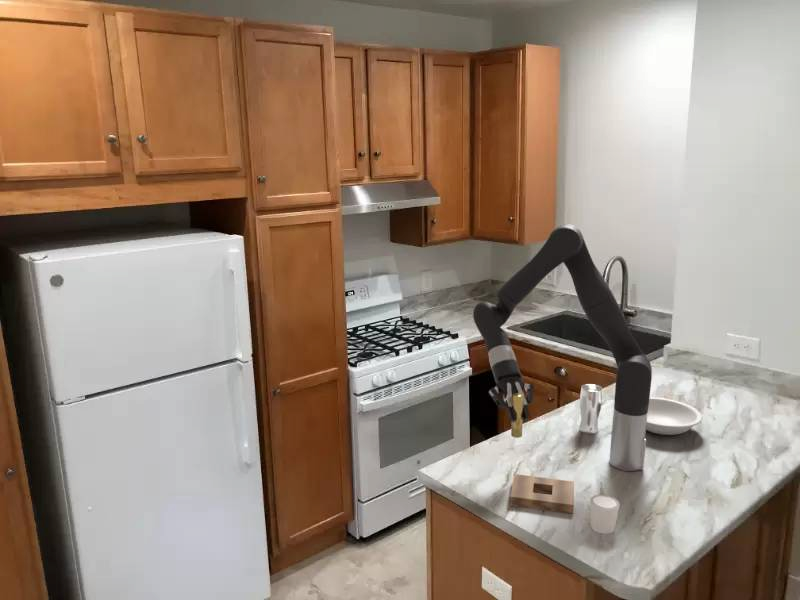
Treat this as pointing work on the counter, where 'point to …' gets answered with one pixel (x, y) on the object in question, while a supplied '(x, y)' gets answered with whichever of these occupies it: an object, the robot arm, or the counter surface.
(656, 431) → the soup bowl
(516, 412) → the peg
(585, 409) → the beer glass
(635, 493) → the counter surface
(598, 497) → the shot glass
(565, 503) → the block
